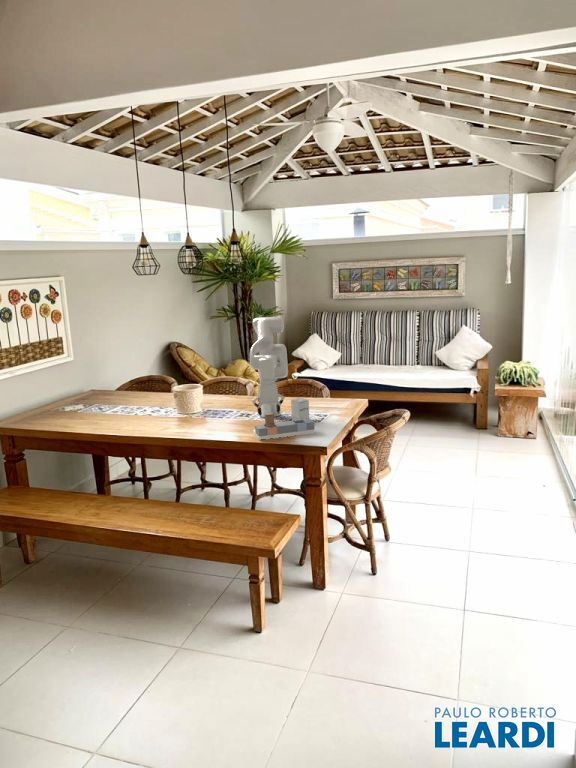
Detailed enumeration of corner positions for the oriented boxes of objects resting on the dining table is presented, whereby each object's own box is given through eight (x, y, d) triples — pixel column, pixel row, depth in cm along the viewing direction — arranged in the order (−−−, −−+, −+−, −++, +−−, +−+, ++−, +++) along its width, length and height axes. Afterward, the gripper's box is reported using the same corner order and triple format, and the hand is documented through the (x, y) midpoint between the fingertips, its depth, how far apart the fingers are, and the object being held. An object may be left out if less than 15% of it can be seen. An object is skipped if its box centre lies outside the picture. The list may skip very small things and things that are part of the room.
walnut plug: (265, 432, 311) (264, 413, 309) (273, 431, 312) (272, 412, 310) (267, 434, 308) (266, 415, 306) (275, 433, 309) (274, 414, 307)
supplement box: (299, 423, 334) (298, 401, 331) (291, 421, 339) (290, 399, 337) (309, 421, 338) (308, 399, 335) (301, 418, 344) (300, 397, 341)
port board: (252, 433, 318) (252, 422, 317) (306, 426, 326) (305, 416, 325) (259, 440, 304) (258, 429, 303) (315, 433, 312) (314, 422, 311)
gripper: (281, 378, 311) (283, 410, 315) (249, 382, 306) (251, 414, 310) (285, 381, 304) (287, 413, 308) (252, 384, 299) (254, 417, 303)
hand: (269, 413), depth 309 cm, fingers open, 9 cm apart
